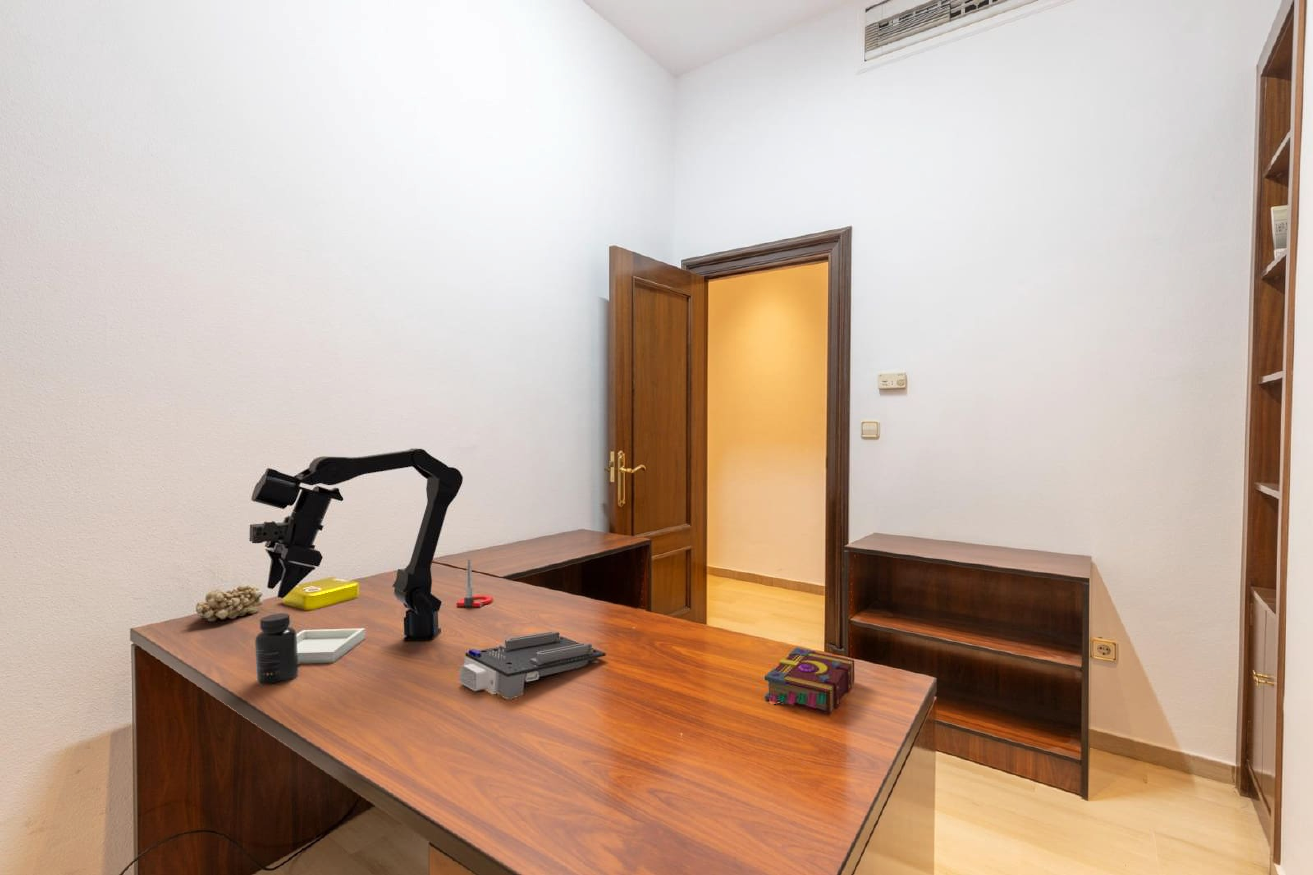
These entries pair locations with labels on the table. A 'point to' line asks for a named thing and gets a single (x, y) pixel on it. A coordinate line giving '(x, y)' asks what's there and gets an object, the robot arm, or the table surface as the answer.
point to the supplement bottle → (276, 650)
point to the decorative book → (810, 680)
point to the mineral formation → (230, 603)
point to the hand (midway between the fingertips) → (275, 592)
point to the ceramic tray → (326, 644)
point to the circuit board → (523, 662)
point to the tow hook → (469, 599)
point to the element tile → (321, 593)
